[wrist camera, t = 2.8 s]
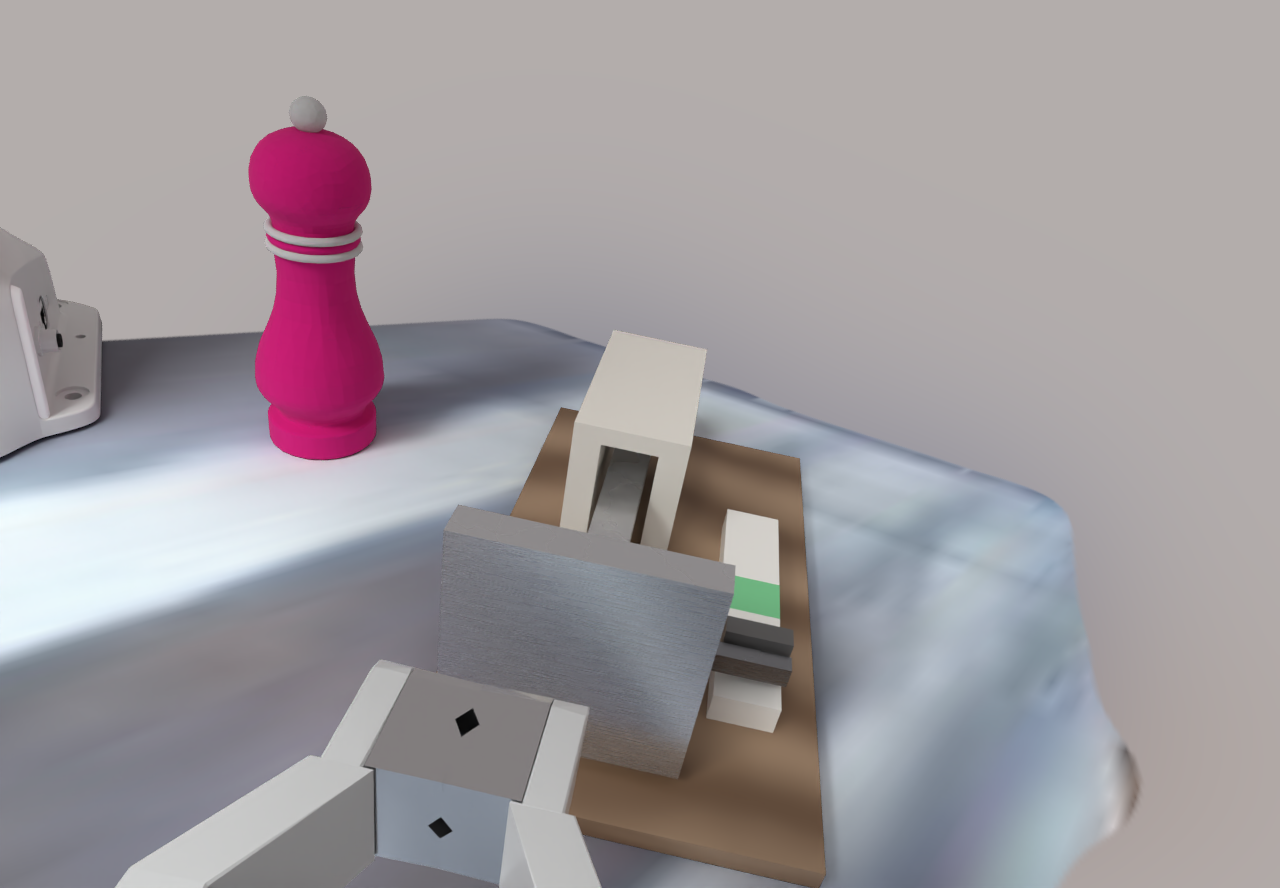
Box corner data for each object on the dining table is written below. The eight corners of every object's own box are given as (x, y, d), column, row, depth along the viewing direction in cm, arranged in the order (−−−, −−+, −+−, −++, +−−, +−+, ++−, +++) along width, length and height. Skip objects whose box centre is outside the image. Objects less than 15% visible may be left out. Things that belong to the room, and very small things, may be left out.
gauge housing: (664, 560, 44) (691, 446, 40) (558, 537, 44) (574, 421, 40) (684, 449, 54) (707, 349, 50) (597, 430, 54) (613, 329, 51)
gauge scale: (772, 733, 35) (781, 710, 35) (706, 717, 35) (713, 694, 35) (771, 539, 47) (778, 519, 46) (722, 529, 47) (727, 508, 47)
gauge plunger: (776, 801, 32) (852, 620, 27) (435, 723, 32) (443, 529, 27) (773, 513, 49) (819, 367, 44) (549, 464, 49) (568, 314, 44)
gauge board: (818, 888, 31) (825, 874, 30) (388, 789, 31) (388, 773, 31) (795, 470, 56) (799, 458, 56) (559, 419, 57) (561, 407, 56)
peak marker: (783, 674, 36) (793, 646, 35) (717, 659, 36) (726, 631, 35) (782, 658, 37) (793, 630, 36) (718, 643, 37) (727, 615, 36)
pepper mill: (341, 478, 47) (327, 122, 37) (234, 444, 48) (191, 88, 38) (405, 423, 53) (409, 104, 43) (309, 393, 54) (289, 75, 44)
